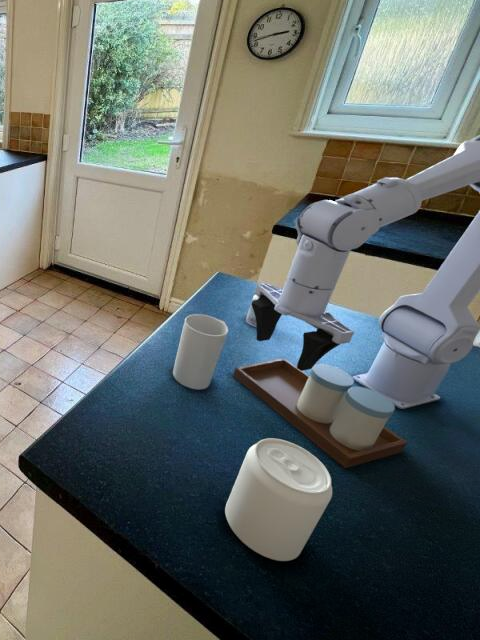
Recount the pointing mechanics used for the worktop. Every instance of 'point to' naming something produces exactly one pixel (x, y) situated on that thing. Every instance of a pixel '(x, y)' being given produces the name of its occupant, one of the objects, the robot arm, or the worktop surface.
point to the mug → (199, 350)
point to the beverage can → (278, 498)
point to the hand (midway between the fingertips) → (282, 353)
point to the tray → (282, 396)
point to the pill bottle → (252, 314)
